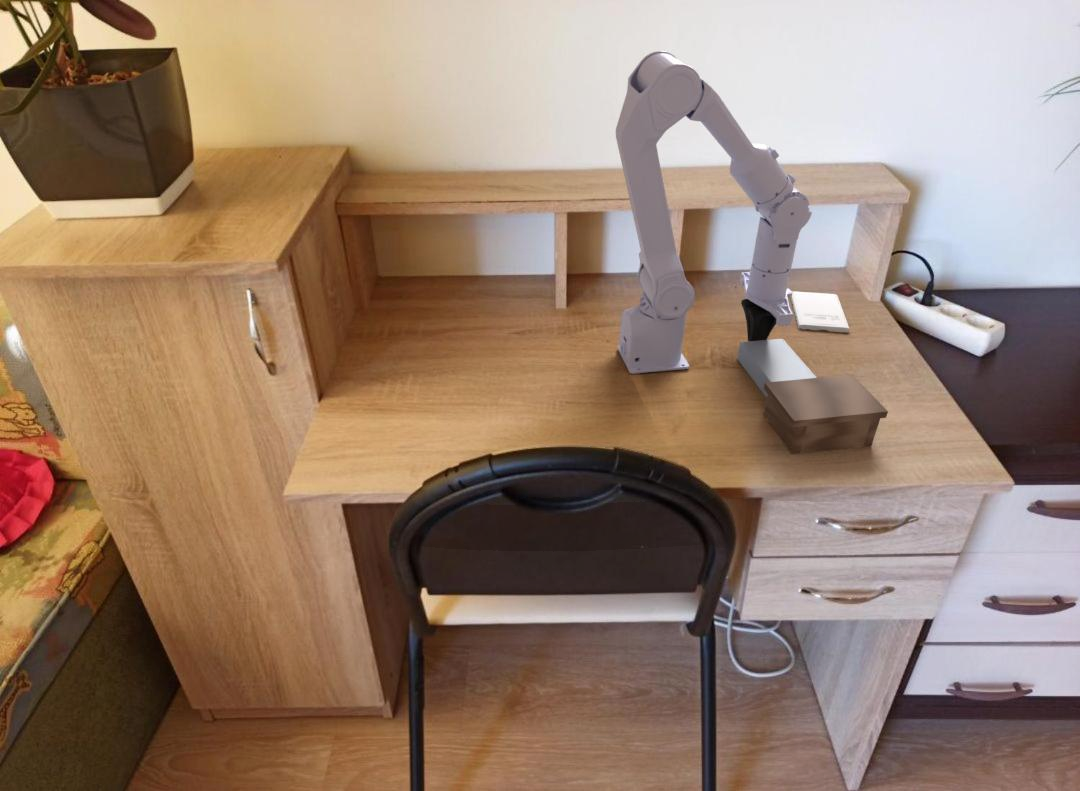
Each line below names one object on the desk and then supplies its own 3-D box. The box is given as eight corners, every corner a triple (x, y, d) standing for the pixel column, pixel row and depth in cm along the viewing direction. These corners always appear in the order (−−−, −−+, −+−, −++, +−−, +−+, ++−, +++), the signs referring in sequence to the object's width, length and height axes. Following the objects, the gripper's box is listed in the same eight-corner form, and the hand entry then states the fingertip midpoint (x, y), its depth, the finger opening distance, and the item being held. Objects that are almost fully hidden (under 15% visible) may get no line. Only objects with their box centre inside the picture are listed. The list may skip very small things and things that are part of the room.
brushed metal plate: (775, 409, 108) (778, 391, 106) (737, 358, 119) (740, 342, 117) (820, 404, 109) (825, 387, 107) (779, 354, 120) (782, 338, 118)
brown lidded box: (785, 454, 99) (794, 420, 96) (757, 415, 106) (764, 382, 103) (877, 445, 101) (888, 411, 98) (843, 406, 108) (852, 374, 105)
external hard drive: (835, 302, 137) (848, 335, 127) (789, 298, 138) (797, 332, 128) (837, 294, 136) (850, 327, 126) (790, 290, 137) (799, 323, 127)
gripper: (819, 284, 107) (800, 366, 115) (775, 244, 119) (760, 320, 127) (772, 288, 106) (756, 370, 114) (733, 247, 118) (720, 324, 125)
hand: (755, 344), depth 120 cm, fingers closed
